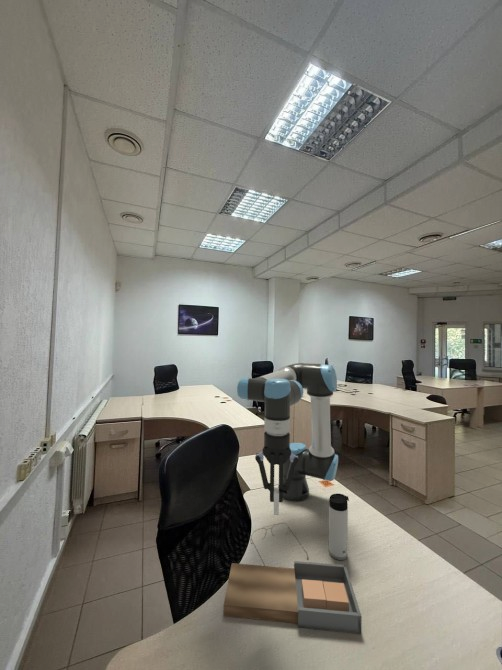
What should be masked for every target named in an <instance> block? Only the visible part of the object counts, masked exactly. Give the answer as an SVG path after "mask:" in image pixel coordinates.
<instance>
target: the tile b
mask: <svg viewBox="0 0 502 670" xmlns="http://www.w3.org/2000/svg"><path fill="white" fill-rule="evenodd" d="M323 587H324V592H325V597H326V609H327V610H335V611H345V612H349V601H348V597H347V594H346V590H345V587H344V583H335V582H323Z"/></svg>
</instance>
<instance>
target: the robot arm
mask: <svg viewBox="0 0 502 670" xmlns="http://www.w3.org/2000/svg"><path fill="white" fill-rule="evenodd" d="M337 384H338V379H337V373H336V370H335V368H334V366H333V365H331V364H326V363H325V364H324V363H303V362H299V363H292V364H288V365H285V366H282V367H280V368H279V369H278V370H277V371H273V372H271V373H268V374H264V375H261V376H258V377H255V378H251V377H243V378H241V379H240V380H239V381H238V382H237V386H236V390H237V391H236V392H237V396H238V397H239V398H240V399H242V400H247V401H253V402H254V401H255V402H260V403H261V402H262V403H263V402H264V418H263V419H264V422H263V423H264V429H263V430H264V433H263V435H264V437H263V438H264V439H263V440H264V441H263V442H264V443H263V444H264V445H263V448H262V450H261V452H256V453H255V456H254V457H255V461H256V462H257V464H258V467H259V471H260V477H261V481H262V485H263V489H264V490H268V491H269V502H270V503H273V516H280V503H283V502H284V500H287V501H290V502H300V501H304V500H307V499H308V498H309V497H310V487H309V485H308V481H307V477H312V478H316V479H320V480H323V481H327V482H328V481H329V482H332V481H334V480H335V479H336V478H335V477H336V475H337V470H338V465H339V455H338V454H336V453H335V449H334V448H333V447H332V444H331V442H332V438H331V433H332V432H331V397H332V396H333V395H334V392H336V391H337V390H338V389H337V388H338V385H337ZM304 389H305V390H306V394H307V395H308V396H309V397H310V419H311V420H310V423H311V445H310V446H309V447H308V448H307V446H306V444H305V443H302V442H291V440H290V439H291V434H290V430H291V429H290V428H291V406H294V405H295V404H298V403H299V402H300V400H301V399H302V398H303V396H304ZM290 442H291V443H290ZM264 457H265V458H264ZM264 459H266V460H267V462H268V463H269V471H270V472H269V481H268V477H267V472H266V467H265V463H264ZM275 465H278V485H277V486H278V487H275ZM306 476H307V477H306ZM284 498H285V499H284Z"/></svg>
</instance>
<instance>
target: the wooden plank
mask: <svg viewBox="0 0 502 670" xmlns="http://www.w3.org/2000/svg"><path fill="white" fill-rule="evenodd" d="M228 575H229V576H228V580H227V585H226V591H225V597H224V601H223V617H230V618H231V617H232V618H241V619H250V620H251V619H252V620H258V621H259V620H260V621H271V622H280V623H289V624H290V623H291V624H298V604H297V593H296V581H295V569H294V567H282V566H272V565H270V566H269V565H265V566H264V565H257V564H249V563H248V564H247V563H246V564H245V563H236V562H235V563H233V562H231V566H230V571H229V574H228Z"/></svg>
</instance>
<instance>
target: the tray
mask: <svg viewBox="0 0 502 670" xmlns="http://www.w3.org/2000/svg"><path fill="white" fill-rule="evenodd" d="M293 564H294V565H293V568H294V569H295V581H296V593H297V604H298V623H297V627H298V628H301V629H310V630H321V631H327V632H328V631H330V632H340V633H348V634H361V635H362V613H361V609H360V607H359V602H358V600H357V598H356V593H355V591H354V586H353V584H352V580H351V578H350V575H349V571H348V568H347V566H346V564H337V563H323V562H311V561H310V562H309V561H300V560H299V561H298V560H294V561H293ZM302 580H316V581H322V583H323V582H335V583H344V587H345V590H346V594H347V597H348V601H349V612H345V611H335V610H327V609H319V608H306V607H304V602H303V594H302Z"/></svg>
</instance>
